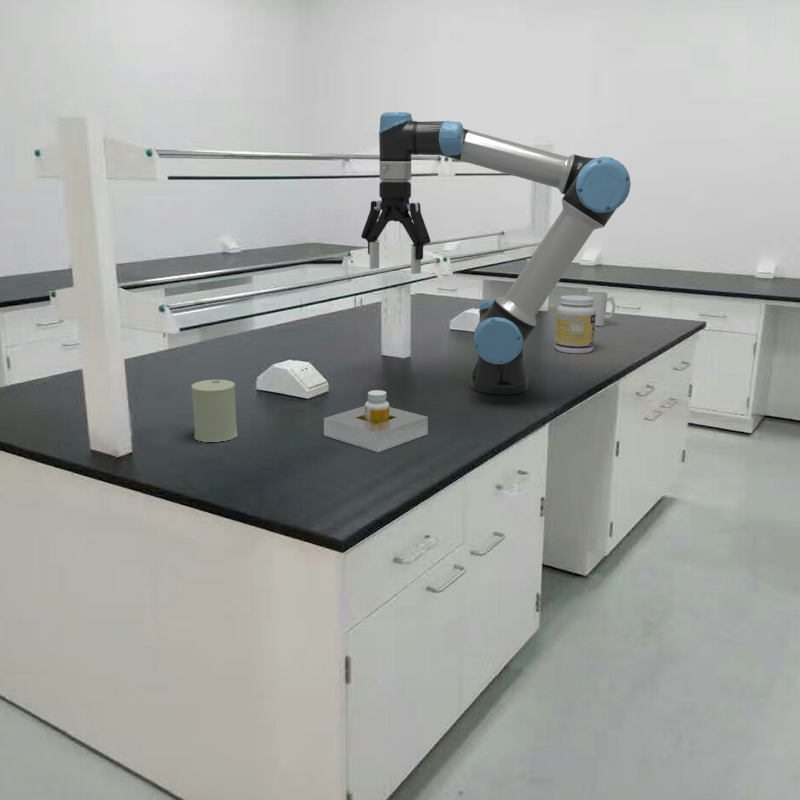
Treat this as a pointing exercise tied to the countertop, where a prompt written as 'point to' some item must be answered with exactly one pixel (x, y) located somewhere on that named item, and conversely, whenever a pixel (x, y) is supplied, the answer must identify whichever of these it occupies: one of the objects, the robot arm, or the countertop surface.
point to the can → (214, 410)
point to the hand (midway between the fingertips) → (394, 271)
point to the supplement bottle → (376, 407)
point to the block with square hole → (375, 428)
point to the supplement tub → (575, 324)
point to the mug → (601, 306)
